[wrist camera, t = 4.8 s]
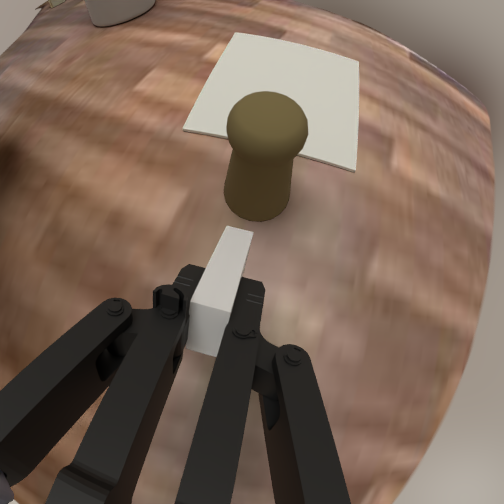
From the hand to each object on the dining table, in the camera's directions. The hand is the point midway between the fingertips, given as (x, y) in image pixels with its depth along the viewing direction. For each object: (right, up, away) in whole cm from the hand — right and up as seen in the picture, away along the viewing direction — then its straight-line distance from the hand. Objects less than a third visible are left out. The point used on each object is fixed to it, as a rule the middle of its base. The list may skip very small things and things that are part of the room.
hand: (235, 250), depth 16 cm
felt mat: (+5, +20, +14) cm, 24 cm away
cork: (+1, +5, +10) cm, 12 cm away
